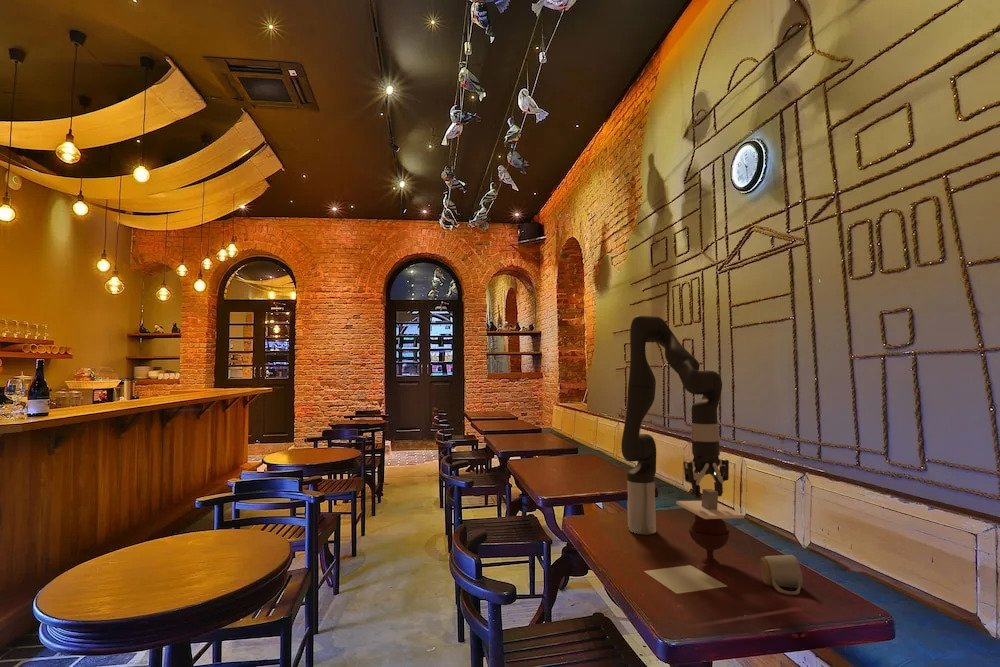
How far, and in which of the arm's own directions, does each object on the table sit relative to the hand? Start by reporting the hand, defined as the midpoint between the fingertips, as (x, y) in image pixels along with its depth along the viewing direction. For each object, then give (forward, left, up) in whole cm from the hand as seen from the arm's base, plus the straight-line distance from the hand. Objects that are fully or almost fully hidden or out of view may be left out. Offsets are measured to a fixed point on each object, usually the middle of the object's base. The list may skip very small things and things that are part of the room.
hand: (707, 496), depth 147 cm
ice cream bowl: (0, 0, -19) cm, 19 cm away
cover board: (0, 0, -4) cm, 4 cm away
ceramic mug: (+19, +7, -19) cm, 28 cm away
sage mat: (+8, -14, -19) cm, 25 cm away
